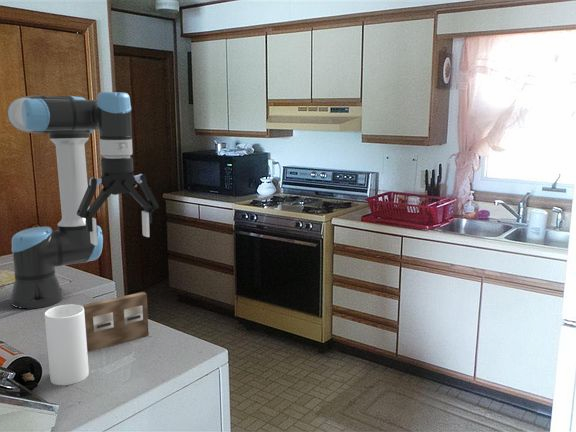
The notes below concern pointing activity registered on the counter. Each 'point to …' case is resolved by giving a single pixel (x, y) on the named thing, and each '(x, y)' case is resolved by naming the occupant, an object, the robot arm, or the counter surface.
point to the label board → (116, 320)
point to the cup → (66, 344)
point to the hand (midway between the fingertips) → (120, 240)
